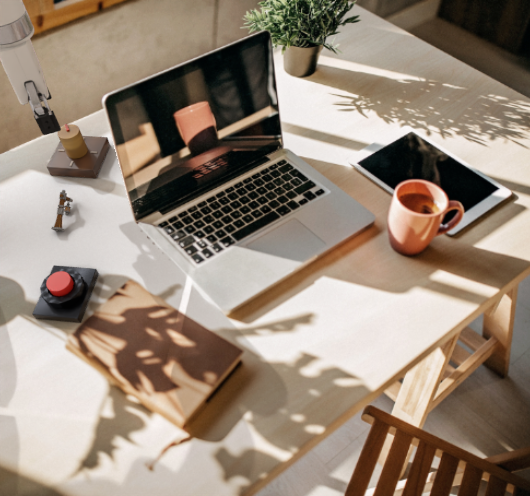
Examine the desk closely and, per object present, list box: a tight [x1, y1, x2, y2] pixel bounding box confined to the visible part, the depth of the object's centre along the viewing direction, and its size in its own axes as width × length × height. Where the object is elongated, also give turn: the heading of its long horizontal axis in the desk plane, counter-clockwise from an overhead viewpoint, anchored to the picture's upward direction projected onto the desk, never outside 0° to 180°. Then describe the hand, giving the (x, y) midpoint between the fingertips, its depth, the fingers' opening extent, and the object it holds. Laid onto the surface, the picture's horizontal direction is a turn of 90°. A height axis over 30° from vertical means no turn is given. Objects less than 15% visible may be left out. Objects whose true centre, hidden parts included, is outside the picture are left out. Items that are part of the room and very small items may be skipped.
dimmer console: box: [46, 135, 111, 179], centre depth 105 cm, size 10×10×3 cm
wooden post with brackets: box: [50, 189, 74, 232], centre depth 96 cm, size 2×8×4 cm, turn 174°
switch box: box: [32, 264, 100, 324], centre depth 85 cm, size 8×10×4 cm
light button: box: [46, 271, 74, 297], centre depth 83 cm, size 4×4×2 cm
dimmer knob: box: [56, 123, 88, 159], centre depth 102 cm, size 4×4×6 cm
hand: (47, 115), depth 89 cm, fingers open, 9 cm apart
